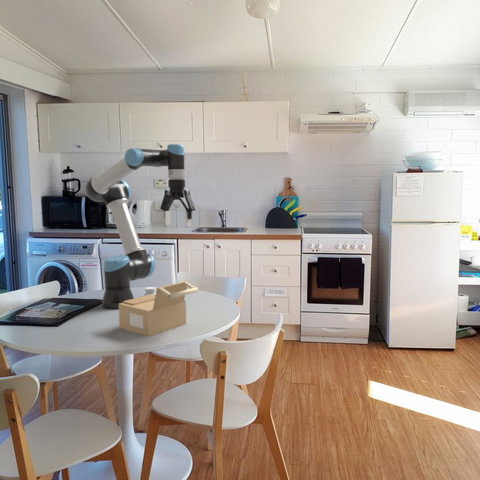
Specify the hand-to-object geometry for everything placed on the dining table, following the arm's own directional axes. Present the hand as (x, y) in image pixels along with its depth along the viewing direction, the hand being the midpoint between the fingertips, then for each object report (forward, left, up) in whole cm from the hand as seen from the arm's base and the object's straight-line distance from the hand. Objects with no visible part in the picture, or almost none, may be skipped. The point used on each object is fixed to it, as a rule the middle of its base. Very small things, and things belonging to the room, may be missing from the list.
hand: (177, 225), depth 212 cm
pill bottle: (-4, -14, -39) cm, 42 cm away
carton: (+11, -26, -39) cm, 48 cm away
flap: (+22, -26, -24) cm, 42 cm away
